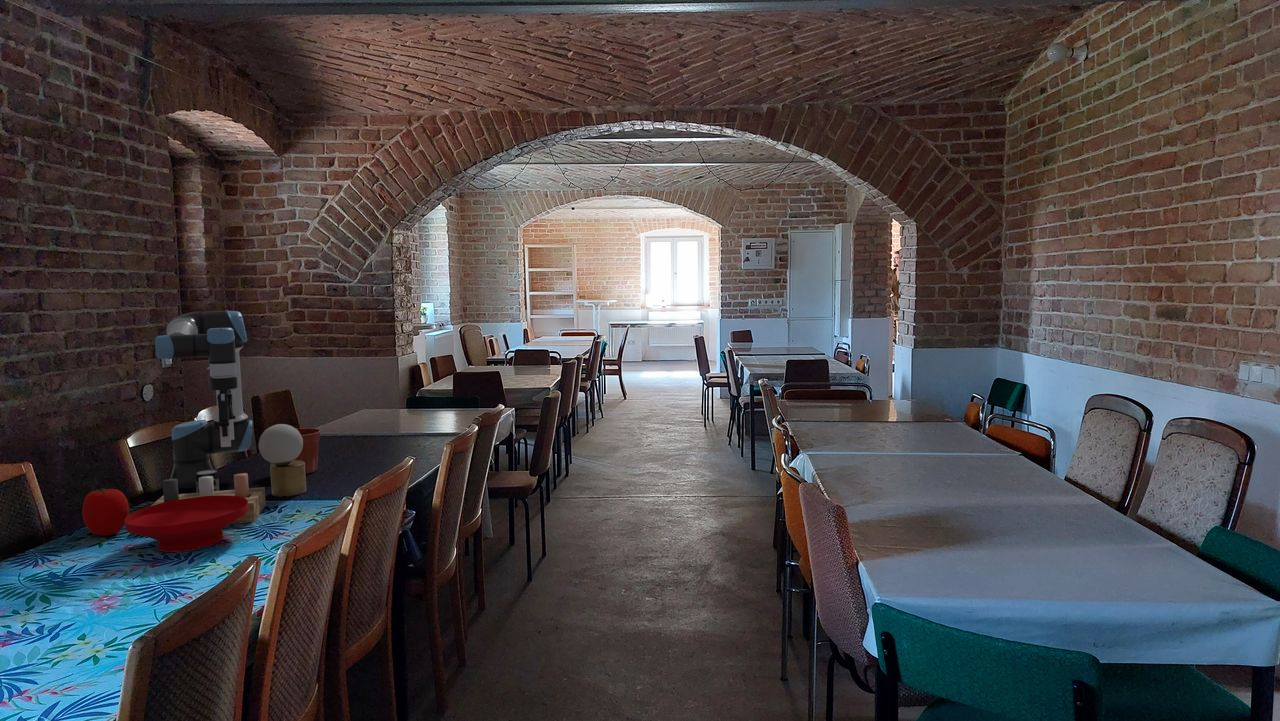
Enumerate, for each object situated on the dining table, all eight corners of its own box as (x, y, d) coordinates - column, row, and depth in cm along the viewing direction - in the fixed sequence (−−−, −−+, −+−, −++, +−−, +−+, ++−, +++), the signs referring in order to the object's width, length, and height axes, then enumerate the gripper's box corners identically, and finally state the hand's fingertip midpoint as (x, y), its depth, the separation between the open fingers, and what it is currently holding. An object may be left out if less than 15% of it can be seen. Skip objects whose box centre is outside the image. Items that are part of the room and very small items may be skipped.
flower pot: (312, 476, 298) (310, 435, 296) (270, 477, 298) (267, 436, 296) (330, 466, 314) (327, 427, 313) (289, 467, 314) (287, 428, 313)
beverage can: (210, 510, 253) (207, 474, 252) (193, 509, 255) (190, 473, 254) (224, 504, 260) (222, 469, 259) (208, 504, 261) (205, 469, 260)
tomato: (73, 537, 227) (69, 490, 226) (111, 525, 238) (107, 481, 237) (103, 541, 223) (99, 493, 222) (140, 529, 234) (137, 484, 232)
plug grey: (202, 504, 246) (200, 476, 245) (216, 503, 247) (214, 475, 246) (199, 507, 242) (197, 479, 241) (213, 506, 244) (211, 478, 243)
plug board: (164, 513, 250) (162, 495, 250) (265, 504, 259) (264, 487, 259) (144, 531, 231) (143, 512, 231) (254, 521, 240) (253, 502, 239)
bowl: (273, 531, 230) (271, 499, 229) (183, 567, 201) (181, 529, 200) (196, 523, 240) (194, 491, 239) (100, 555, 211) (97, 519, 210)
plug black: (166, 507, 243) (164, 479, 242) (181, 506, 244) (178, 478, 244) (162, 510, 239) (160, 482, 239) (177, 509, 241) (175, 481, 240)
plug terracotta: (236, 501, 249) (235, 473, 248) (250, 500, 250) (248, 472, 249) (234, 504, 245) (232, 476, 244) (248, 503, 246) (246, 475, 246)
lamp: (284, 501, 263) (280, 428, 261) (252, 498, 268) (247, 427, 265) (316, 490, 277) (312, 421, 275) (285, 487, 282) (281, 419, 280)
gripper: (213, 374, 253) (218, 438, 255) (205, 380, 230) (210, 451, 232) (239, 372, 256) (243, 436, 258) (233, 379, 233) (238, 448, 235)
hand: (227, 443), depth 245 cm, fingers open, 13 cm apart
